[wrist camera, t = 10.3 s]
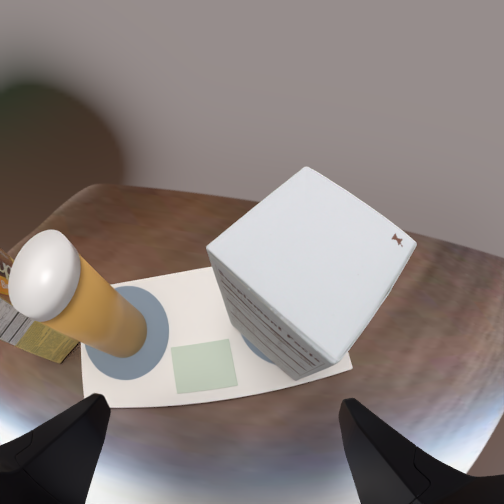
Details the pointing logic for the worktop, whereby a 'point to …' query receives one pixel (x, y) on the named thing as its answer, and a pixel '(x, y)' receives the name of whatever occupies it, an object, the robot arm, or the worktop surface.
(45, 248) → the amber tube
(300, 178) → the supplement box
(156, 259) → the worktop surface
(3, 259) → the candy box
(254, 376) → the white board
